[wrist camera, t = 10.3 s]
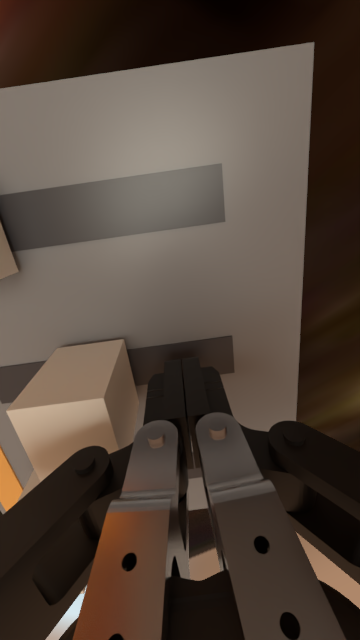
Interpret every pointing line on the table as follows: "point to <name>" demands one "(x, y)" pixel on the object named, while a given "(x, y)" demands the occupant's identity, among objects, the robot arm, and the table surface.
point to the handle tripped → (76, 404)
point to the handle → (6, 257)
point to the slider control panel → (158, 229)
